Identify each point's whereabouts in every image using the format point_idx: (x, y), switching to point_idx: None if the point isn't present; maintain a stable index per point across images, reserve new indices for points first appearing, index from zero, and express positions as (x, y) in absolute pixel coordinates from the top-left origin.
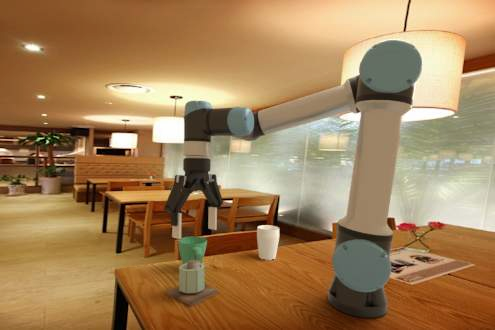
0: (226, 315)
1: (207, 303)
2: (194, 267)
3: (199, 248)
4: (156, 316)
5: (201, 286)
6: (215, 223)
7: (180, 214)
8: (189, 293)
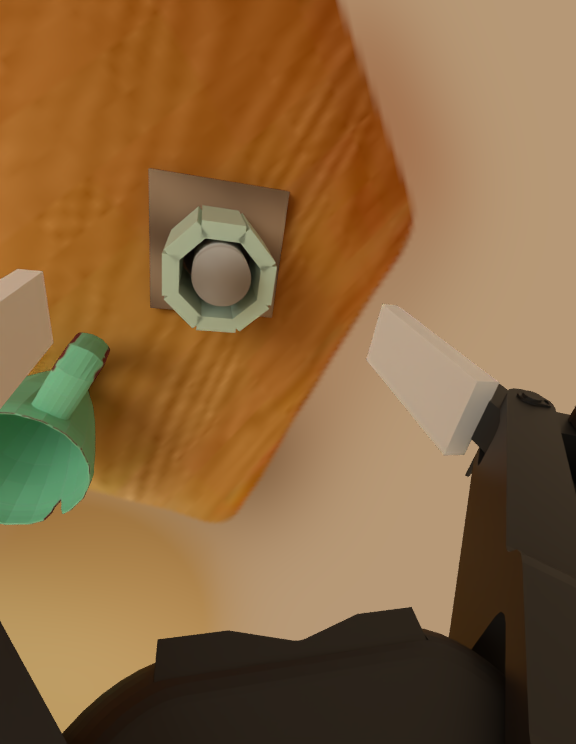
0: (273, 19)
1: (240, 152)
2: (238, 252)
3: (64, 376)
4: (379, 242)
5: (217, 210)
6: (10, 287)
7: (482, 378)
8: None
